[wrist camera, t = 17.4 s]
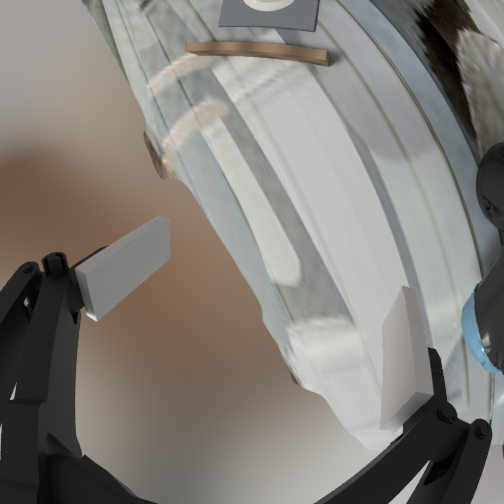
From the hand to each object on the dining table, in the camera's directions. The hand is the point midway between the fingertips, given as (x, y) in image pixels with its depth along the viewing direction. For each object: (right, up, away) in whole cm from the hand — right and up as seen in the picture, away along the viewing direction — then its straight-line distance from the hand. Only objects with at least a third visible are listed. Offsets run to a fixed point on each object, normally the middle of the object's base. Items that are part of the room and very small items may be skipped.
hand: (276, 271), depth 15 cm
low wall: (0, +33, +22) cm, 39 cm away
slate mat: (+2, +44, +16) cm, 46 cm away
